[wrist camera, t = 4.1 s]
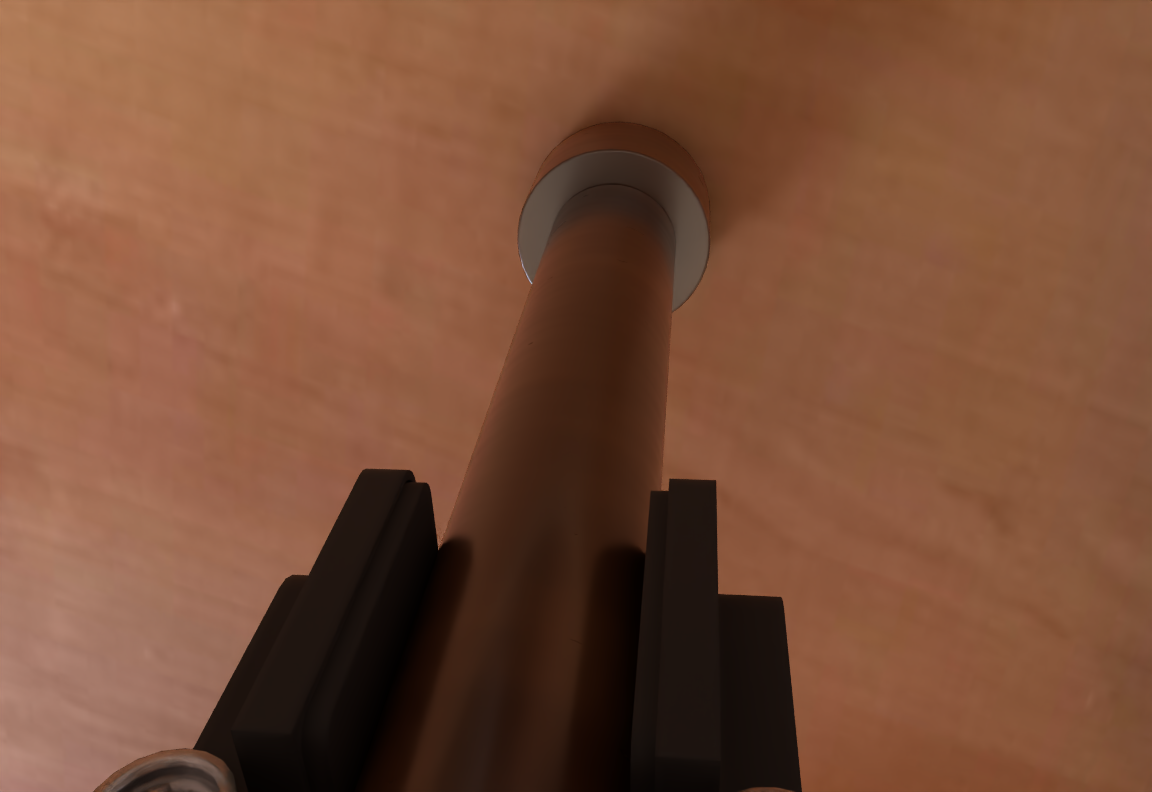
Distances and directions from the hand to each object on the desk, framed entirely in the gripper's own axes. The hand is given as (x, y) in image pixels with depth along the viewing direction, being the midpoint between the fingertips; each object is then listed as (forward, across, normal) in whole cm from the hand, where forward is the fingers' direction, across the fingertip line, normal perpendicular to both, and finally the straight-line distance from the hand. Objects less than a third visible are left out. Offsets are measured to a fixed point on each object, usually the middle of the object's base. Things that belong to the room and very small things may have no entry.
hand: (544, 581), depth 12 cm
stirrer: (+13, 0, 0) cm, 13 cm away
